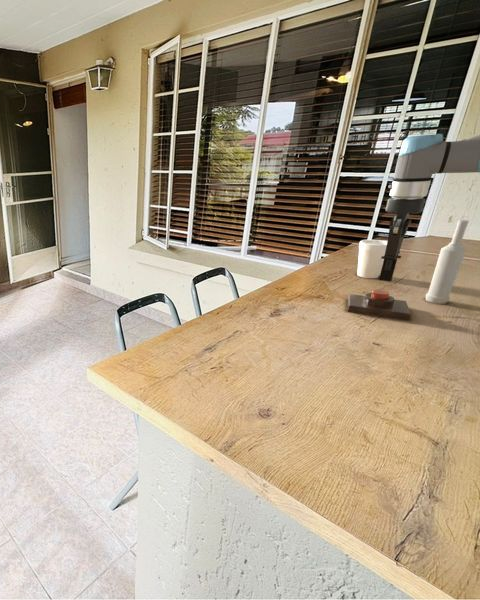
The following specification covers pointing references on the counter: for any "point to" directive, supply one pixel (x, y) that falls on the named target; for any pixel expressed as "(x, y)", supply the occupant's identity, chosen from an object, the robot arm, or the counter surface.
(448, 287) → the bottle
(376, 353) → the counter surface
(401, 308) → the control block
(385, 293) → the press knob
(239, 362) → the counter surface
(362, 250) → the foam cup
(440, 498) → the counter surface
